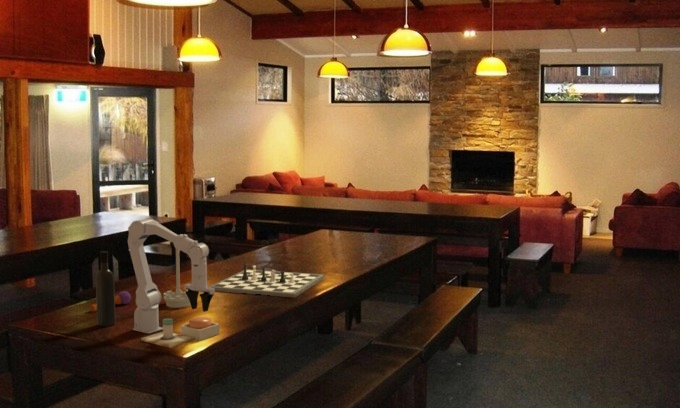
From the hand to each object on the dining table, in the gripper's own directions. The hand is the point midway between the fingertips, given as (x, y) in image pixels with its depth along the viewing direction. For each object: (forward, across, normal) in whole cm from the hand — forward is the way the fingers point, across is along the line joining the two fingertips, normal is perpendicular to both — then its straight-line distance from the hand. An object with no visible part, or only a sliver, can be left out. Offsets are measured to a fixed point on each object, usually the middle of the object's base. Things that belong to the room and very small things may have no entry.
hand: (199, 309), depth 284 cm
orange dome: (+7, 0, 0) cm, 7 cm away
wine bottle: (+10, -41, -12) cm, 44 cm away
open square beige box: (+10, 0, 0) cm, 10 cm away
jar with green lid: (+9, -5, -12) cm, 16 cm away
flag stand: (+10, -42, +28) cm, 51 cm away
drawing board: (+10, -5, -12) cm, 16 cm away
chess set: (+11, -36, +83) cm, 91 cm away
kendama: (+10, -63, +7) cm, 64 cm away
